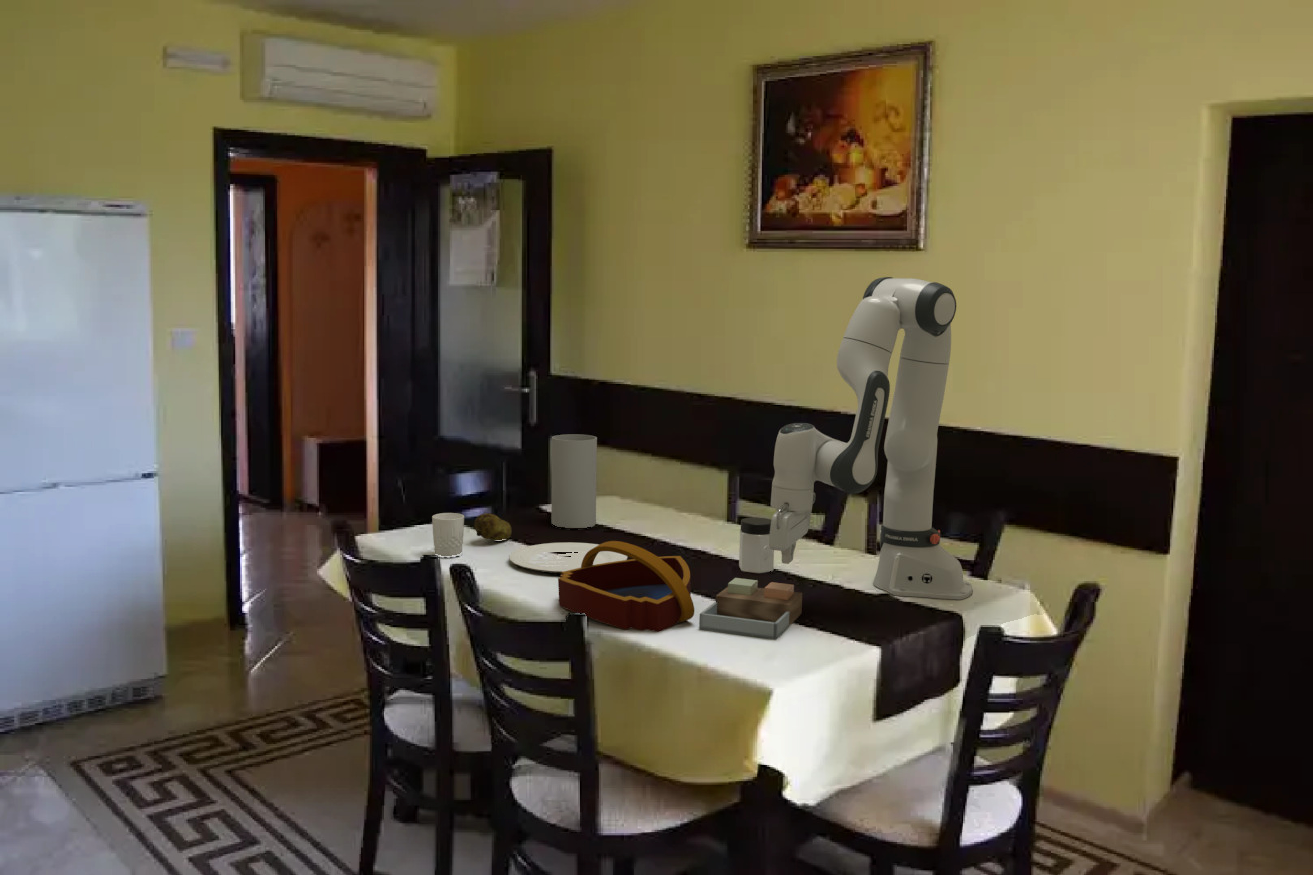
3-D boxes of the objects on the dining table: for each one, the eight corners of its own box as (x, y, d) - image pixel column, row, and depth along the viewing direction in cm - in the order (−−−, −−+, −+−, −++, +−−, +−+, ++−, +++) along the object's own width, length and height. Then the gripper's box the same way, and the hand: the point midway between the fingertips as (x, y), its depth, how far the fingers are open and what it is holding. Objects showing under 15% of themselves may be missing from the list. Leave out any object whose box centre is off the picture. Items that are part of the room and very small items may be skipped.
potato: (523, 540, 314) (523, 510, 313) (485, 548, 305) (485, 517, 304) (503, 535, 320) (503, 506, 319) (465, 542, 311) (465, 512, 310)
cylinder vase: (599, 529, 329) (600, 440, 325) (554, 530, 326) (555, 441, 323) (592, 520, 341) (592, 434, 337) (548, 521, 338) (549, 434, 335)
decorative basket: (535, 610, 259) (527, 546, 256) (639, 572, 276) (633, 511, 273) (627, 654, 233) (620, 582, 229) (737, 608, 250) (731, 542, 246)
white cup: (426, 556, 295) (425, 517, 293) (443, 550, 302) (443, 511, 301) (453, 560, 292) (453, 520, 290) (470, 553, 299) (470, 514, 298)
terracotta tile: (793, 593, 251) (793, 584, 251) (787, 599, 246) (787, 590, 246) (770, 591, 253) (771, 582, 252) (764, 597, 248) (764, 587, 248)
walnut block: (801, 613, 252) (802, 593, 252) (788, 626, 243) (789, 605, 243) (730, 604, 258) (730, 584, 258) (715, 616, 249) (715, 595, 248)
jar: (751, 575, 283) (753, 525, 282) (731, 567, 290) (732, 519, 288) (781, 570, 288) (782, 522, 286) (760, 563, 295) (761, 515, 293)
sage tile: (757, 589, 254) (757, 580, 254) (750, 595, 249) (750, 586, 249) (735, 586, 256) (735, 577, 255) (727, 592, 251) (728, 583, 251)
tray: (788, 626, 243) (789, 611, 242) (776, 639, 234) (776, 624, 234) (714, 616, 249) (714, 602, 248) (699, 629, 240) (699, 613, 240)
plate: (651, 563, 293) (652, 556, 293) (564, 585, 272) (564, 577, 272) (571, 543, 313) (571, 536, 313) (484, 562, 292) (484, 554, 291)
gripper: (793, 510, 242) (788, 575, 244) (817, 493, 261) (812, 554, 263) (763, 506, 244) (759, 571, 246) (789, 489, 263) (785, 550, 265)
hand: (787, 562), depth 255 cm, fingers closed
